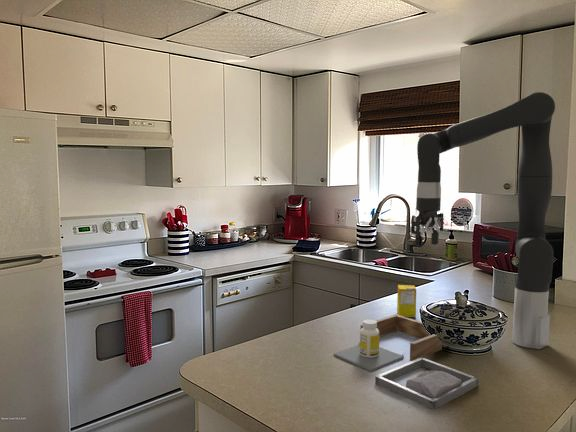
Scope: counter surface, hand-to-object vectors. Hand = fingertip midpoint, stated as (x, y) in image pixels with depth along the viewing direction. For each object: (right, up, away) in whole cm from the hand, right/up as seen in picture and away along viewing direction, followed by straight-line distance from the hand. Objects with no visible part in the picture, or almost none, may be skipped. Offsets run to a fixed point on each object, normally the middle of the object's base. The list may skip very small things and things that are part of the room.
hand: (426, 245), depth 162 cm
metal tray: (-11, -33, -37) cm, 51 cm away
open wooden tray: (-10, -29, -10) cm, 33 cm away
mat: (-22, -31, -20) cm, 43 cm away
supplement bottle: (-22, -30, -20) cm, 42 cm away
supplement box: (-3, -27, +16) cm, 31 cm away
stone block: (-10, -34, -40) cm, 53 cm away
